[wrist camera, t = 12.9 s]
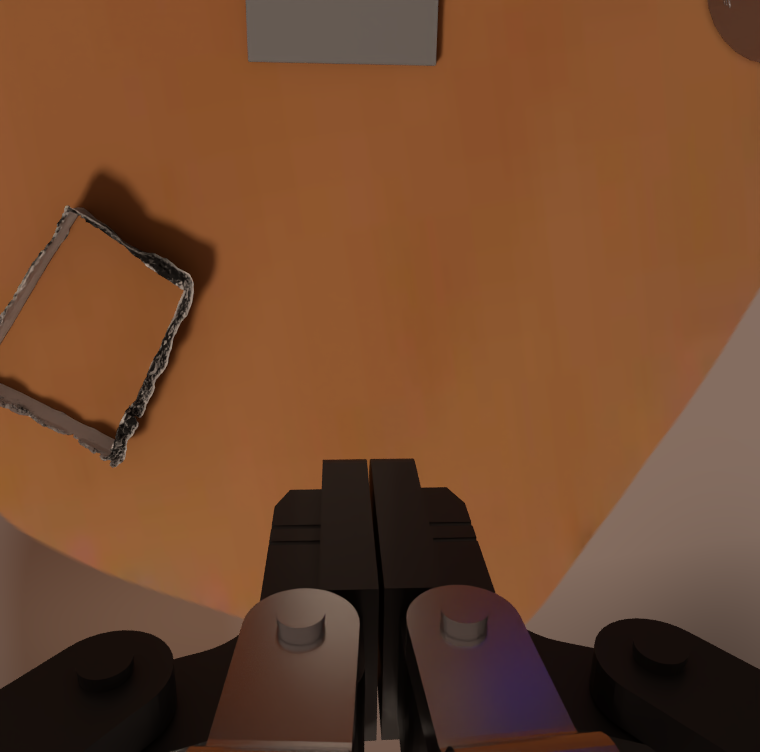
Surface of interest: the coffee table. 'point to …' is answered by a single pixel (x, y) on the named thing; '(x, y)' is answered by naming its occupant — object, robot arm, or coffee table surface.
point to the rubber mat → (343, 31)
